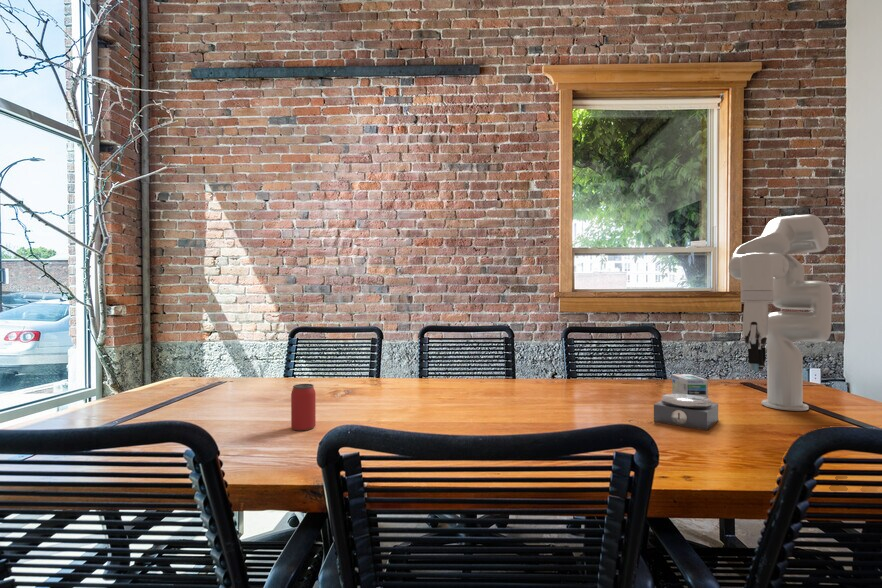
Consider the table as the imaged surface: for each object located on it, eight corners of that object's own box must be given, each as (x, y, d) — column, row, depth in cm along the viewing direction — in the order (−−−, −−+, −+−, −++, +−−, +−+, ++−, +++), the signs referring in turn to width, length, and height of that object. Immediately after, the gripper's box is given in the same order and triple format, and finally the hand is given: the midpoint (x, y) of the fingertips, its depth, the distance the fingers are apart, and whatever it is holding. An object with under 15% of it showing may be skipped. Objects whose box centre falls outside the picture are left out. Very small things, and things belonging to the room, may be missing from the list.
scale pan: (669, 395, 149) (669, 392, 149) (715, 402, 140) (715, 398, 140) (656, 403, 139) (656, 398, 139) (705, 410, 130) (705, 405, 130)
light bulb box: (708, 413, 148) (708, 379, 148) (687, 413, 148) (687, 379, 148) (691, 405, 159) (691, 373, 159) (671, 405, 159) (671, 373, 159)
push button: (773, 372, 127) (773, 335, 127) (752, 372, 128) (752, 335, 128) (760, 368, 134) (760, 333, 134) (740, 368, 135) (740, 333, 134)
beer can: (320, 427, 133) (320, 385, 133) (299, 433, 128) (298, 388, 128) (307, 423, 137) (307, 382, 137) (286, 428, 132) (286, 385, 132)
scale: (667, 412, 149) (668, 396, 149) (718, 420, 140) (718, 403, 140) (653, 421, 138) (653, 404, 138) (706, 430, 129) (706, 412, 129)
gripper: (746, 296, 140) (746, 357, 140) (735, 297, 127) (735, 364, 127) (776, 296, 135) (777, 359, 135) (768, 298, 122) (769, 367, 122)
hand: (757, 361), depth 131 cm, fingers closed on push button, 5 cm apart
